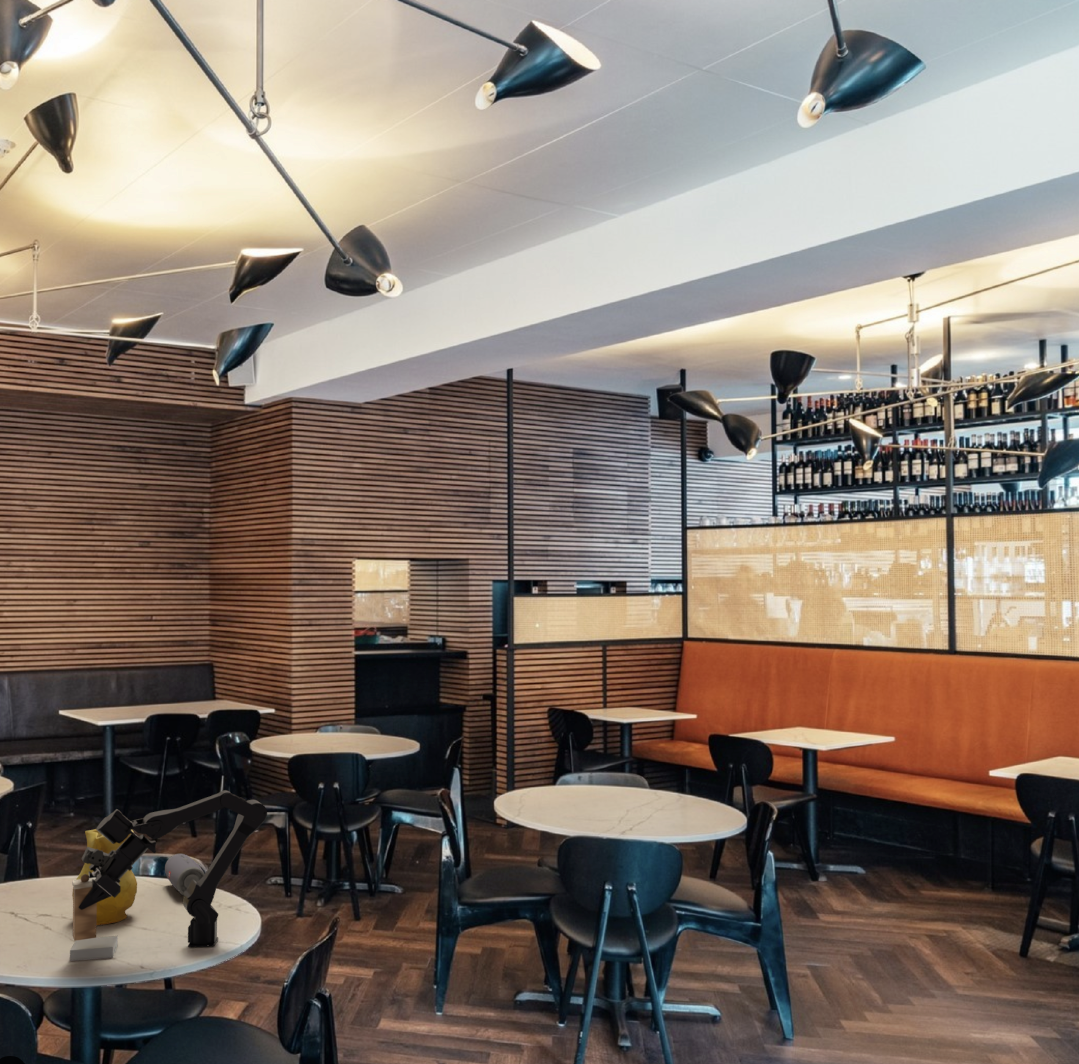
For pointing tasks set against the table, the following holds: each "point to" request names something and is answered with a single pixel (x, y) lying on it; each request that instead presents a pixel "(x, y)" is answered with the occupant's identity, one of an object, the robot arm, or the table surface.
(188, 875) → the bluetooth speaker
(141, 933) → the table surface
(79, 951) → the stone block
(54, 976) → the table surface
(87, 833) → the pitcher
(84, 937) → the box
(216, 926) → the robot arm
